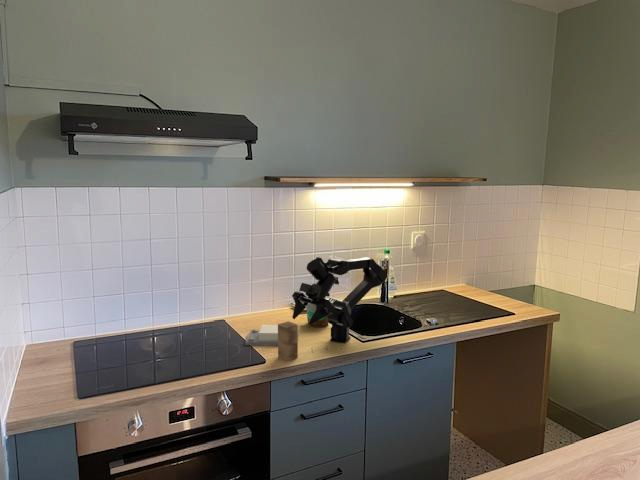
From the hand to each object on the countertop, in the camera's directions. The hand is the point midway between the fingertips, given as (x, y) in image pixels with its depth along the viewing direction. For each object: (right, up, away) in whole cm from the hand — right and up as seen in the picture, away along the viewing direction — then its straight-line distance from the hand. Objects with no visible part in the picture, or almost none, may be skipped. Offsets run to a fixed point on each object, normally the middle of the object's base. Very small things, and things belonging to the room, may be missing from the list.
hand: (301, 321), depth 182 cm
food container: (+5, -7, +33) cm, 34 cm away
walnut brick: (-5, -13, -3) cm, 14 cm away
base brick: (-12, -10, +16) cm, 22 cm away
